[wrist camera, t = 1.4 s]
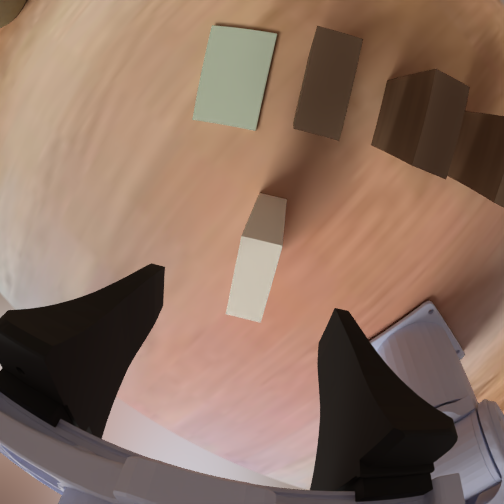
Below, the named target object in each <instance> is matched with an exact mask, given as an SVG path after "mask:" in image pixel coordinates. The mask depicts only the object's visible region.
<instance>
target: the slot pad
mask: <svg viewBox="0 0 504 504" xmlns="http://www.w3.org/2000/svg"><path fill="white" fill-rule="evenodd" d="M276 38H277V34H276V33H270V32H264V31H257V30H250V29H243V28H234V27H224V26H213V25H212V28H211V32H210V36H209V40H208V45H207V49H206V53H205V58H204V63H203V67H202V72H201V77H200V82H199V87H198V92H197V97H196V103H195V108H194V114H193V119H192V120H198V121H205V122H211V123H217V124H223V125H228V126H234V127H239V128H244V129H249V130H254V131H256V128H257V123H258V119H259V114H260V109H261V105H262V100H263V96H264V91H265V87H266V82H267V78H268V73H269V69H270V64H271V60H272V56H273V51H274V47H275V43H276Z"/></svg>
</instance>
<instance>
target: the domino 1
mask: <svg viewBox="0 0 504 504" xmlns="http://www.w3.org/2000/svg"><path fill="white" fill-rule="evenodd" d="M286 203H287V199H283V198H279V197H275V196H271V195H267V194H263V193H259V195H258V197H257V200H256V202H255V205H254V207H253V209H252V212H251V214H250V217H249V219H248V222H247V224H246V226H245V229H244V231H243V234H242V236H241V241H240V246H239V251H238V256H237V261H236V266H235V271H234V275H233V280H232V285H231V290H230V295H229V300H228V305H227V311H226V314H228V315H232V316H236V317H240V318H244V319H248V320H252V321H256V322H260V323H261V320H262V316H263V313H264V309H265V306H266V302H267V299H268V295H269V292H270V289H271V285H272V282H273V278H274V274H275V271H276V267H277V264H278V260H279V257H280V253H281V249H282V246H283V236H284V225H285V214H286Z"/></svg>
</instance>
